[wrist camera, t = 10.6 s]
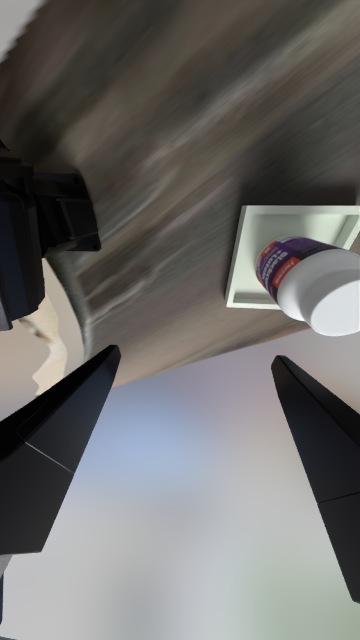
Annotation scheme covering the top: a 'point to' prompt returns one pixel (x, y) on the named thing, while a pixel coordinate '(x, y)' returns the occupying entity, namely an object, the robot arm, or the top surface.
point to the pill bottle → (313, 282)
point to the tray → (275, 222)
